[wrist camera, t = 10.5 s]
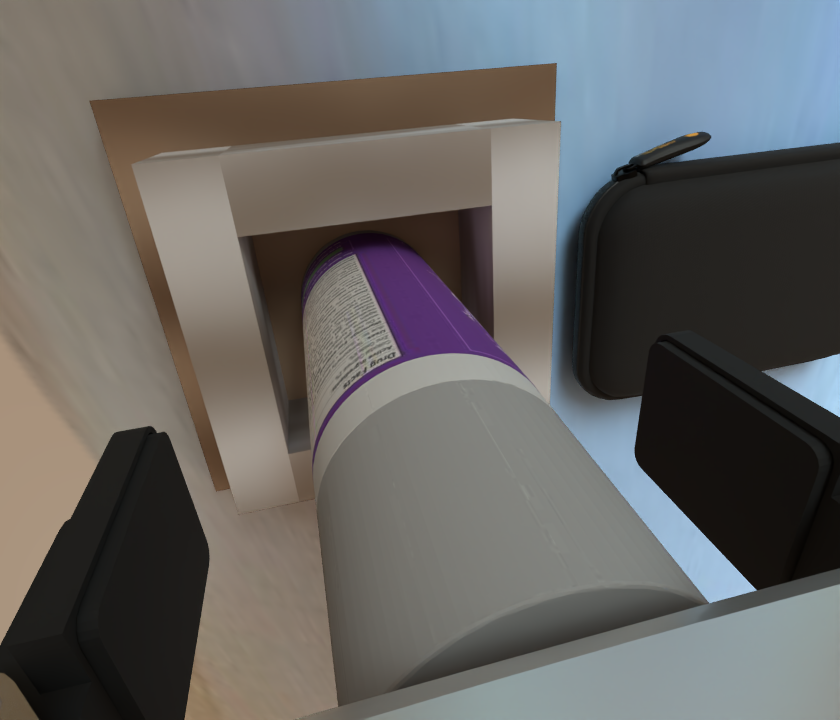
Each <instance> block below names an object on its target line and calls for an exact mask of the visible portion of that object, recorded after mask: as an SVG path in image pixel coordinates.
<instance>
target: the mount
mask: <svg viewBox="0 0 840 720" xmlns="http://www.w3.org/2000/svg"><path fill="white" fill-rule="evenodd" d="M556 68H557V63H553V64H541V65H529V66H516V67H504V68H491V69H479V70H467V71H454V72H442V73H429V74H417V75H404V76H392V77H380V78H367V79H355V80H342V81H330V82H318V83H305V84H293V85H280V86H268V87H256V88H243V89H231V90H218V91H206V92H194V93H181V94H169V95H156V96H144V97H131V98H119V99H107V100H94V101H90V104H91V107H92V110H93V113H94V116H95V119H96V123H97V126H98V129H99V132H100V135H101V138H102V141H103V144H104V147H105V150H106V153H107V157H108V160H109V163H110V166H111V169H112V172H113V175H114V178H115V181H116V184H117V187H118V190H119V194H120V197H121V200H122V203H123V206H124V209H125V212H126V215H127V218H128V221H129V224H130V228H131V231H132V234H133V237H134V240H135V243H136V246H137V249H138V252H139V255H140V258H141V262H142V265H143V268H144V271H145V274H146V277H147V280H148V283H149V286H150V289H151V292H152V295H153V299H154V302H155V305H156V308H157V311H158V314H159V317H160V320H161V323H162V326H163V329H164V333H165V336H166V339H167V342H168V345H169V348H170V351H171V354H172V357H173V360H174V363H175V367H176V370H177V373H178V376H179V379H180V382H181V385H182V388H183V391H184V394H185V397H186V400H187V404H188V407H189V410H190V413H191V416H192V419H193V422H194V425H195V428H196V431H197V434H198V438H199V441H200V444H201V447H202V450H203V453H204V456H205V459H206V462H207V465H208V468H209V472H210V475H211V478H212V481H213V484H214V487H215V490H216V491H220V490H225V489H230V488H231V491H232V495H233V498H234V501H235V504H236V508H237V511H238V514H239V515H240V514H245V513H250V512H254V511H259V510H264V509H269V508H273V507H278V506H283V505H288V504H293V503H297V502H302V501H307V500H312V499H315V492H314V484H313V474H312V459H311V444H310V428H309V413H308V398H307V383H306V367H305V352H304V337H303V322H302V307H301V289H302V282H303V278H304V275H305V272H306V270H307V267H308V265H309V264H310V262H311V260H312V259H313V257H314V256H315V255H316V254H317V252H318V251H319V250H320V249H321V248H323V247H324V246H325V245H326V244H327V243H329V242H330V241H332V240H334V239H336V238H337V237H340V236H342V235H344V234H347V233H351V232H356V231H364V230H373V231H380V232H385V233H388V234H391V235H393V236H396V237H398V238H400V239H401V240H403V241H404V242H406V243H407V244H409V245H410V246H411V247H412V248H413V249H414V250H415V251H416V252H417V253H418V254H419V255H420V256H421V257H422V259H423V260H424V261H425V262H426V263H427V264H428V265H429V266H430V268H431V269H432V270H433V271H434V272H435V273H436V274H437V276H438V277H439V278H440V279H441V280H442V281H443V282H444V283H445V285H446V286H447V287H448V288H449V289H450V290H451V291H452V293H453V294H454V295H455V296H456V297H457V298H458V299H459V301H460V302H461V303H462V304H463V305H464V306H465V307H466V308H467V310H468V311H469V312H470V313H471V314H472V315H473V316H474V318H475V319H476V320H477V321H478V322H479V323H480V324H481V325H482V327H483V328H484V329H485V330H486V331H487V332H488V333H489V335H490V336H491V337H492V338H493V339H494V340H495V341H496V342H497V344H498V345H499V346H500V347H501V348H502V349H503V350H504V352H505V353H506V354H507V355H508V356H509V357H510V358H511V359H512V361H513V362H514V363H515V364H516V365H517V366H518V367H519V369H520V370H521V371H522V372H523V373H524V374H525V375H526V376H527V378H528V379H529V380H530V381H531V382H532V383H533V384H534V386H535V387H536V388H537V390H538V391H539V392H540V394H541V395H542V396H543V397H544V399H545V400H546V401H547V402H548V404H549V405H550V383H551V358H552V333H553V308H554V282H555V257H556V232H557V206H558V181H559V156H560V131H561V121H555V97H556Z"/></svg>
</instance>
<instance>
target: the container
mask: <svg viewBox="0 0 840 720" xmlns="http://www.w3.org/2000/svg"><path fill="white" fill-rule="evenodd" d="M301 307H302V322H303V337H304V352H305V367H306V383H307V398H308V413H309V428H310V444H311V459H312V474H313V484H314V492H315V501H316V510H317V519H318V528H319V537H320V546H321V555H322V564H323V573H324V582H325V591H326V600H327V609H328V618H329V627H330V636H331V645H332V654H333V663H334V672H335V681H336V690H337V699H338V707H340V706H344V705H347V704H351V703H354V702H358V701H361V700H365V699H368V698H372V697H375V696H379V695H382V694H386V693H390V692H393V691H397V690H400V689H404V688H407V687H411V686H414V685H418V684H421V683H425V682H428V681H432V680H435V679H439V678H443V677H446V676H450V675H453V674H457V673H460V672H464V671H467V670H471V669H474V668H478V667H481V666H485V665H489V664H492V663H496V662H499V661H503V660H506V659H510V658H514V657H517V656H521V655H524V654H528V653H532V652H535V651H539V650H542V649H546V648H550V647H553V646H557V645H560V644H564V643H568V642H571V641H575V640H578V639H582V638H586V637H589V636H593V635H596V634H600V633H604V632H607V631H611V630H615V629H618V628H622V627H625V626H629V625H633V624H636V623H640V622H644V621H647V620H651V619H654V618H658V617H662V616H665V615H669V614H673V613H676V612H680V611H683V610H687V609H691V608H694V607H698V606H702V605H705V604H709V602H708V601H707V600H706V599H705V598H704V596H703V595H702V594H701V593H700V591H699V590H698V589H697V588H696V586H695V585H694V584H693V583H692V581H691V580H690V579H689V578H688V576H687V575H686V574H685V573H684V571H683V570H682V569H681V568H680V567H679V565H678V564H677V563H676V562H675V560H674V559H673V558H672V557H671V555H670V554H669V553H668V552H667V550H666V549H665V548H664V547H663V545H662V544H661V543H660V542H659V540H658V539H657V538H656V537H655V536H654V534H653V533H652V532H651V531H650V529H649V528H648V527H647V526H646V524H645V523H644V522H643V521H642V519H641V518H640V517H639V516H638V514H637V513H636V512H635V511H634V509H633V508H632V507H631V506H630V504H629V503H628V502H627V501H626V500H625V498H624V497H623V496H622V495H621V493H620V492H619V491H618V490H617V488H616V487H615V486H614V485H613V483H612V482H611V481H610V480H609V478H608V477H607V476H606V475H605V473H604V472H603V471H602V470H601V469H600V467H599V466H598V465H597V464H596V462H595V461H594V460H593V459H592V457H591V456H590V455H589V454H588V452H587V451H586V450H585V449H584V447H583V446H582V445H581V444H580V442H579V441H578V440H577V439H576V438H575V436H574V435H573V434H572V433H571V431H570V430H569V429H568V428H567V426H566V425H565V424H564V423H563V421H562V420H561V419H560V418H559V416H558V415H557V414H556V413H555V411H554V410H553V409H552V408H551V406H550V405H549V404H548V402H547V401H546V400H545V399H544V397H543V396H542V395H541V394H540V392H539V391H538V390H537V388H536V387H535V386H534V384H533V383H532V382H531V381H530V380H529V379H528V378H527V376H526V375H525V374H524V373H523V372H522V371H521V370H520V369H519V367H518V366H517V365H516V364H515V363H514V362H513V361H512V359H511V358H510V357H509V356H508V355H507V354H506V353H505V352H504V350H503V349H502V348H501V347H500V346H499V345H498V344H497V342H496V341H495V340H494V339H493V338H492V337H491V336H490V335H489V333H488V332H487V331H486V330H485V329H484V328H483V327H482V325H481V324H480V323H479V322H478V321H477V320H476V319H475V318H474V316H473V315H472V314H471V313H470V312H469V311H468V310H467V308H466V307H465V306H464V305H463V304H462V303H461V302H460V301H459V299H458V298H457V297H456V296H455V295H454V294H453V293H452V291H451V290H450V289H449V288H448V287H447V286H446V285H445V283H444V282H443V281H442V280H441V279H440V278H439V277H438V276H437V274H436V273H435V272H434V271H433V270H432V269H431V268H430V266H429V265H428V264H427V263H426V262H425V261H424V260H423V259H422V257H421V256H420V255H419V254H418V253H417V252H416V251H415V250H414V249H413V248H412V247H411V246H410V245H409V244H407V243H406V242H404V241H403V240H401V239H400V238H398V237H396V236H393V235H391V234H388V233H385V232H380V231H373V230H364V231H356V232H351V233H347V234H344V235H342V236H340V237H337V238H336V239H334V240H332V241H330V242H329V243H327V244H326V245H325V246H324V247H323V248H321V249H320V250H319V251H318V252H317V254H316V255H315V256H314V257H313V259H312V260H311V262H310V264H309V265H308V267H307V270H306V272H305V275H304V278H303V282H302V289H301Z"/></svg>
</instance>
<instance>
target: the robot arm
mask: <svg viewBox="0 0 840 720" xmlns="http://www.w3.org/2000/svg"><path fill="white" fill-rule="evenodd" d="M635 458H636V461H637V463H638V465H639V466H640V467H641V468H642V470H643V471H644V472H645V473H646V474H647V475H648V476H649V477H650V478H651V479H652V480H653V481H654V482H655V483H656V484H657V485H658V486H659V487H660V489H661V490H662V491H663V492H664V493H665V494H666V495H667V496H668V497H669V498H670V499H671V500H672V501H673V502H674V503H675V504H676V505H677V506H678V508H679V509H680V510H681V511H682V512H683V513H684V514H685V515H686V516H687V517H688V518H689V519H690V520H691V521H692V522H693V523H694V524H695V525H696V527H697V528H698V529H699V530H700V531H701V532H702V533H703V534H704V535H705V536H706V537H707V538H708V539H709V540H710V541H711V542H712V543H713V544H714V545H715V547H716V548H717V549H718V550H719V551H720V552H721V553H722V554H723V555H724V556H725V557H726V558H727V559H728V560H729V561H730V562H731V563H732V564H733V566H734V567H735V568H736V569H737V570H738V571H739V572H740V573H741V574H742V575H743V576H744V577H745V578H746V579H747V580H748V581H749V582H750V583H751V585H752V586H753V587H754V588H755V589H756V590H757V591H754V592H750V593H746V594H742V595H739V596H735V597H731V598H728V599H724V600H720V601H717V602H713V603H709V604H705V605H702V606H698V607H694V608H691V609H687V610H683V611H680V612H676V613H673V614H669V615H665V616H662V617H658V618H654V619H651V620H647V621H644V622H640V623H636V624H633V625H629V626H625V627H622V628H618V629H615V630H611V631H607V632H604V633H600V634H596V635H593V636H589V637H586V638H582V639H578V640H575V641H571V642H568V643H564V644H560V645H557V646H553V647H550V648H546V649H542V650H539V651H535V652H532V653H528V654H524V655H521V656H517V657H514V658H510V659H506V660H503V661H499V662H496V663H492V664H489V665H485V666H481V667H478V668H474V669H471V670H467V671H464V672H460V673H457V674H453V675H450V676H446V677H443V678H439V679H435V680H432V681H428V682H425V683H421V684H418V685H414V686H411V687H407V688H404V689H400V690H397V691H393V692H390V693H386V694H382V695H379V696H375V697H372V698H368V699H365V700H361V701H358V702H354V703H351V704H347V705H344V706H340V707H336V708H333V709H329V710H326V711H322V712H319V713H315V714H312V715H309V716H305V717H302V718H299V719H295V720H840V417H838V416H836V415H835V414H833V413H831V412H829V411H828V410H826V409H824V408H823V407H821V406H819V405H818V404H816V403H814V402H812V401H811V400H809V399H807V398H806V397H804V396H802V395H800V394H799V393H797V392H795V391H794V390H792V389H790V388H789V387H787V386H785V385H783V384H782V383H780V382H778V381H777V380H775V379H773V378H771V377H770V376H768V375H766V374H765V373H763V372H761V371H760V370H758V369H756V368H754V367H753V366H751V365H749V364H748V363H746V362H744V361H743V360H741V359H739V358H737V357H736V356H734V355H732V354H731V353H729V352H727V351H725V350H724V349H722V348H720V347H719V346H717V345H715V344H714V343H712V342H710V341H708V340H707V339H705V338H703V337H702V336H700V335H698V334H697V333H695V332H693V331H690V330H687V331H681V332H675V333H669V334H664V335H661V336H659V337H658V338H657V340H656V342H655V343H654V344H653V345H651V347H650V349H649V354H648V361H647V368H646V374H645V381H644V388H643V395H642V402H641V408H640V415H639V422H638V429H637V436H636V442H635ZM208 568H209V547H208V543H207V540H206V537H205V534H204V532H203V529H202V526H201V523H200V521H199V518H198V515H197V512H196V510H195V507H194V504H193V501H192V499H191V496H190V493H189V490H188V488H187V485H186V482H185V479H184V477H183V474H182V471H181V468H180V466H179V463H178V460H177V457H176V455H175V452H174V449H173V446H172V444H171V441H170V438H169V436H168V435H167V433H165V432H161V433H157V432H156V430H155V429H154V428H153V427H151V426H148V427H142V428H137V429H131V430H125V431H120V432H116V433H114V434H113V435H112V437H111V439H110V441H109V443H108V445H107V447H106V449H105V451H104V453H103V455H102V457H101V459H100V461H99V463H98V465H97V467H96V469H95V471H94V473H93V475H92V477H91V479H90V481H89V483H88V485H87V487H86V489H85V491H84V493H83V495H82V497H81V499H80V501H79V503H78V505H77V507H76V509H75V511H74V513H73V515H72V517H71V519H69V520H68V521H66V522H65V523H64V524H63V526H62V527H61V529H60V530H59V532H58V534H57V536H56V538H55V540H54V542H53V544H52V546H51V548H50V550H49V551H48V554H47V555H46V557H45V559H44V561H43V563H42V566H41V567H40V569H39V571H38V573H37V575H36V577H35V579H34V581H33V583H32V585H31V587H30V589H29V590H28V592H27V594H26V596H25V598H24V600H23V602H22V605H21V606H20V608H19V610H18V612H17V614H16V616H15V618H14V620H13V622H12V624H11V626H10V627H9V630H8V631H7V633H6V636H5V637H4V639H3V641H2V643H1V645H0V720H184V718H185V712H186V706H187V699H188V693H189V687H190V680H191V674H192V668H193V662H194V655H195V649H196V643H197V637H198V630H199V624H200V618H201V612H202V605H203V599H204V593H205V587H206V580H207V574H208Z"/></svg>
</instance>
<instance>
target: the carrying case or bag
mask: <svg viewBox="0 0 840 720" xmlns="http://www.w3.org/2000/svg"><path fill="white" fill-rule="evenodd" d="M710 139H711V135H709V134H708V133H705V132H697V133H692V134H688V135H684V136H681V137H679V138H676V139H674V140H672V141H669V142H666V143H664V144H662V145H659V146H657V147H655V148H653V149H651V150H648V151H646V152H644V153H641V154H639V155H637V156H635V157H633V158H631V160H630V161H629V164H627V165H624V166H621V167H619V168H617V169H616V170H615V172H614V174H612V175H611V176H612V180H611V181H610V182H608V183H607V184H606V185H605V186H604V187H602V188H601V189H600V190H599V191H598V192H597V194H596V195H595V196H594V197H593V199H592V200H591V202H590V203H589V205H588V207H587V208H586V211H585V213H584V215H583V217H582V220H581V224H580V229H579V243H578V264H577V285H576V304H575V323H574V342H573V361H572V363H573V364H572V365H573V372H574V376H575V378H576V380H577V382H578V383H579V384H580V386H581V387H582V388H583V389H584V390H586V391H587V392H588V393H589V394H591V395H593V396H595V397H598V398H602V399H606V400H616V399H624V398H631V397H637V396H642V395H643V388H644V381H645V374H646V368H647V361H648V354H649V349H650V347H651V345H653V344H654V343H655V342H656V340H657V338H658V337H659V336H661V335H664V334H669V333H675V332H681V331H687V330H690V331H693V332H695V333H697V334H698V335H700V336H702V337H703V338H705V339H707V340H708V341H710V342H712V343H714V344H715V345H717V346H719V347H720V348H722V349H724V350H725V351H727V352H729V353H731V354H732V355H734V356H736V357H737V358H739V359H741V360H743V361H744V362H746V363H748V364H749V365H751V366H753V367H754V368H756V369H758V370H760V371H764V370H769V369H774V368H779V367H784V366H789V365H794V364H799V363H804V362H809V361H813V360H817V359H821V358H825V357H829V356H832V355H836V354H840V143H832V144H824V145H815V146H807V147H799V148H790V149H782V150H774V151H765V152H757V153H749V154H740V155H732V156H723V157H715V158H707V159H698V160H690V161H682V162H673V163H665V164H658V163H661V162H664V161H666V160H669V159H672V158H674V157H676V156H679V155H681V154H684V153H686V152H689V151H691V150H694V149H696V148H698V147H700V146H702V145H704V144H705V143H707V142H708V141H709V140H710ZM655 164H656V165H655Z"/></svg>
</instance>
